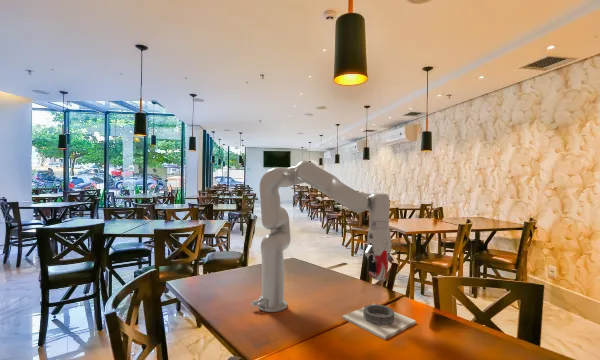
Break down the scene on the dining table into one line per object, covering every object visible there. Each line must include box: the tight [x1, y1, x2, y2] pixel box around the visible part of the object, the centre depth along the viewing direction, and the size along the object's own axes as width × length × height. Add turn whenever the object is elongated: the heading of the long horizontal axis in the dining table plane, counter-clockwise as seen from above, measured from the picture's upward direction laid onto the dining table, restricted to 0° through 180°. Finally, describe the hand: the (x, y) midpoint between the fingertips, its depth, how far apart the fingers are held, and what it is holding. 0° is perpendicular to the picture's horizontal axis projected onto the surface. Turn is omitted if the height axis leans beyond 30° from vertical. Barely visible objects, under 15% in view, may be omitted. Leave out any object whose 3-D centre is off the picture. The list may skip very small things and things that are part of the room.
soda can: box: [368, 248, 389, 281], centre depth 117 cm, size 7×7×12 cm
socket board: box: [341, 303, 417, 340], centre depth 117 cm, size 20×20×4 cm
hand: (378, 269), depth 117 cm, fingers closed on soda can, 7 cm apart
